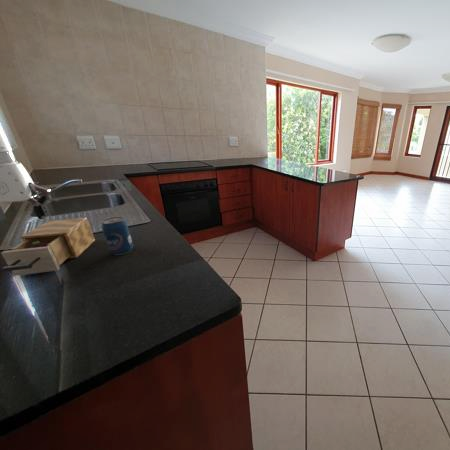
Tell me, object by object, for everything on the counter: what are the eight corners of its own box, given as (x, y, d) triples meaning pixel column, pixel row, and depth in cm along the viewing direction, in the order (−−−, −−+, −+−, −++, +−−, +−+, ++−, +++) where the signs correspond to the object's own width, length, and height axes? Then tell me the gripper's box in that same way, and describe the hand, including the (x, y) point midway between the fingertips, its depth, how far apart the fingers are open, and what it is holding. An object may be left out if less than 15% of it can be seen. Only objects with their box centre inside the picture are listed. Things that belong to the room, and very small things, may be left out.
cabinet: (77, 257, 80) (66, 232, 77) (33, 262, 77) (20, 236, 73) (95, 240, 92) (86, 217, 89) (58, 244, 89) (48, 220, 85)
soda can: (106, 256, 81) (95, 224, 76) (116, 247, 87) (106, 217, 83) (129, 255, 82) (118, 223, 78) (137, 245, 89) (128, 215, 84)
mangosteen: (28, 267, 71) (18, 247, 69) (40, 258, 76) (30, 239, 73) (50, 264, 73) (40, 245, 70) (60, 256, 77) (51, 237, 75)
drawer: (47, 280, 67) (35, 256, 64) (-1, 286, 65) (-16, 262, 61) (79, 250, 83) (70, 230, 80) (42, 255, 80) (31, 234, 77)
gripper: (-67, 161, 56) (-30, 226, 63) (26, 160, 61) (52, 221, 68) (-38, 156, 63) (-6, 216, 69) (45, 156, 68) (66, 212, 74)
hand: (22, 219), depth 69 cm, fingers open, 9 cm apart
